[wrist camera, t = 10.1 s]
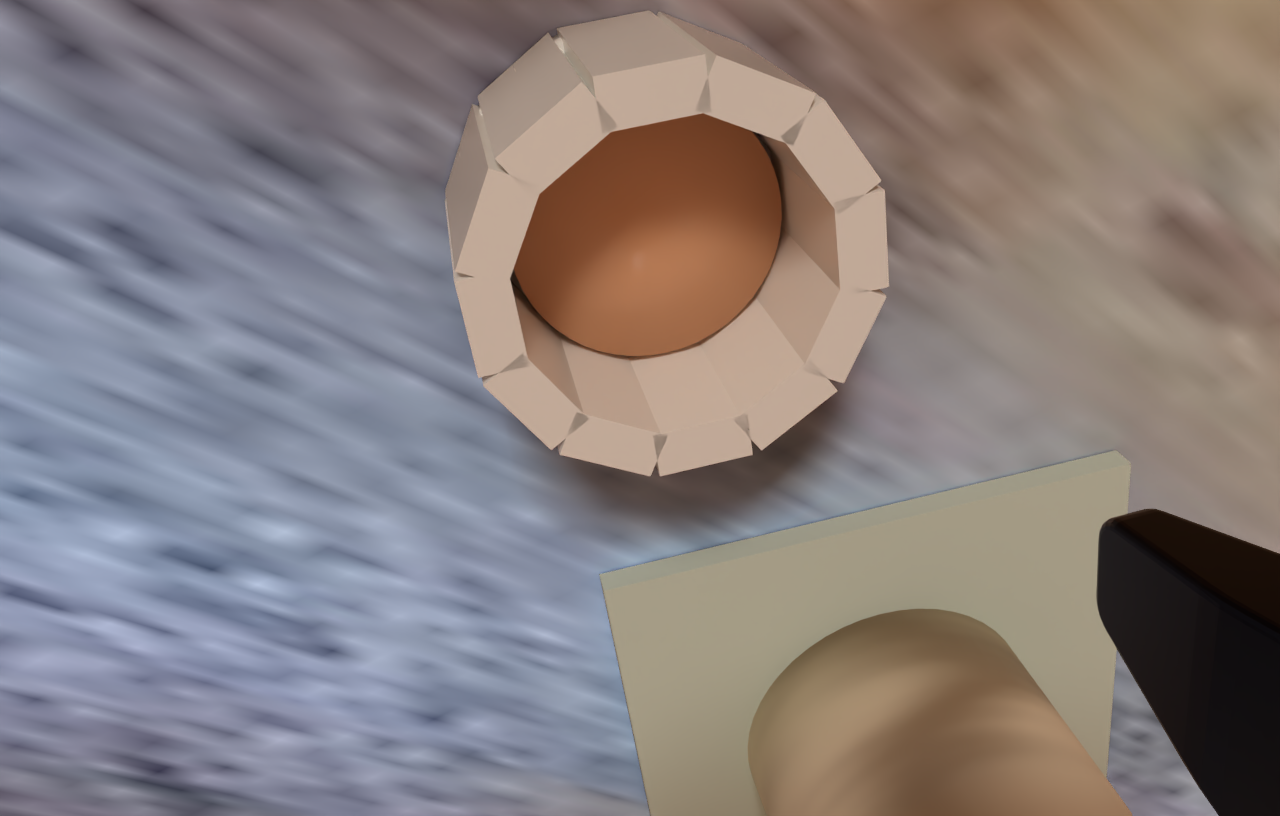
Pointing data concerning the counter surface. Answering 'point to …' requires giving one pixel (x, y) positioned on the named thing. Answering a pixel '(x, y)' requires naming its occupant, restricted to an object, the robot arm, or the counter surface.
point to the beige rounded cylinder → (918, 728)
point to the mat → (861, 615)
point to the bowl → (661, 244)
